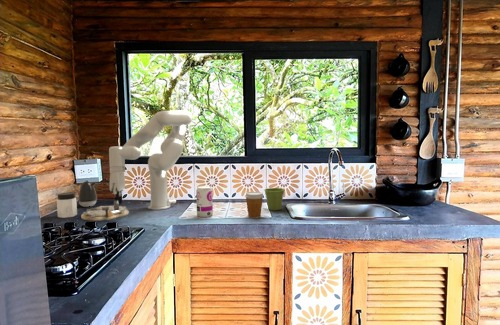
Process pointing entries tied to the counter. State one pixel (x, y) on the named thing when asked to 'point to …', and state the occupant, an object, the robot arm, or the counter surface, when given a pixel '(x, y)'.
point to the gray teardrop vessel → (87, 194)
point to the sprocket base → (105, 216)
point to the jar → (66, 205)
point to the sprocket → (101, 210)
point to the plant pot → (274, 198)
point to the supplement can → (204, 201)
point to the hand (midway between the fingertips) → (118, 203)
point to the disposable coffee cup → (254, 203)
